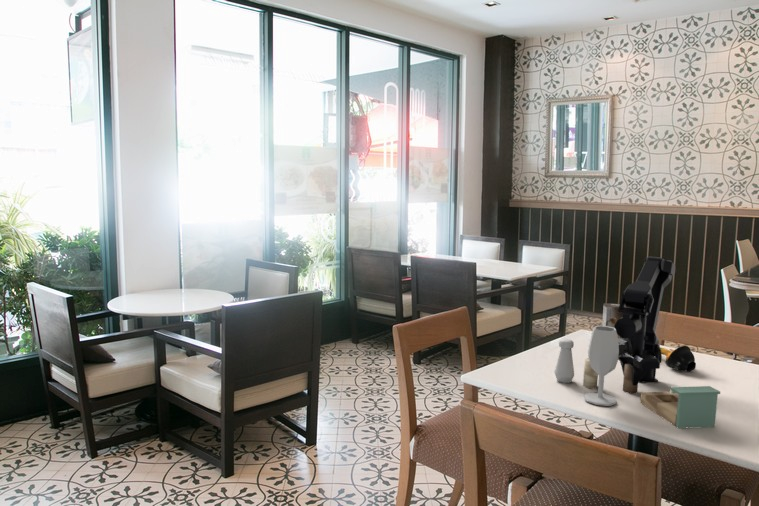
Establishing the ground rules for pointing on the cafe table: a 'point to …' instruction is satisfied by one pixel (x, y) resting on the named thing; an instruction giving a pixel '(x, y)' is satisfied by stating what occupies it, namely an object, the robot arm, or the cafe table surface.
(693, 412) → the teal l-shaped bracket
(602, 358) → the wineglass
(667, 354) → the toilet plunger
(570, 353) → the salt shaker
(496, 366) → the cafe table surface
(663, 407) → the socket block
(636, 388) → the walnut peg
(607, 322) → the coffee box
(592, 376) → the maple peg
